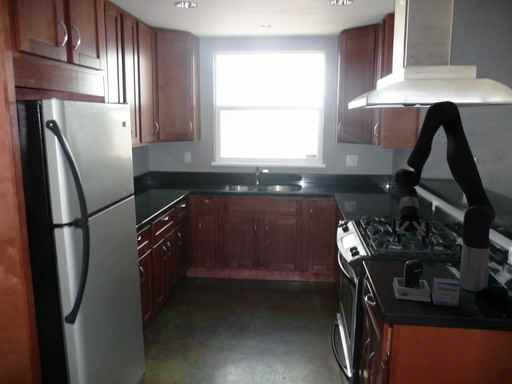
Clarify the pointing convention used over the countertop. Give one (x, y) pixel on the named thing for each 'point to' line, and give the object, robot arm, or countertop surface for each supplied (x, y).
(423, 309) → the countertop surface
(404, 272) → the battery charger
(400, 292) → the charging dock
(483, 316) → the countertop surface
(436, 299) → the medicine box
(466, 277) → the robot arm
